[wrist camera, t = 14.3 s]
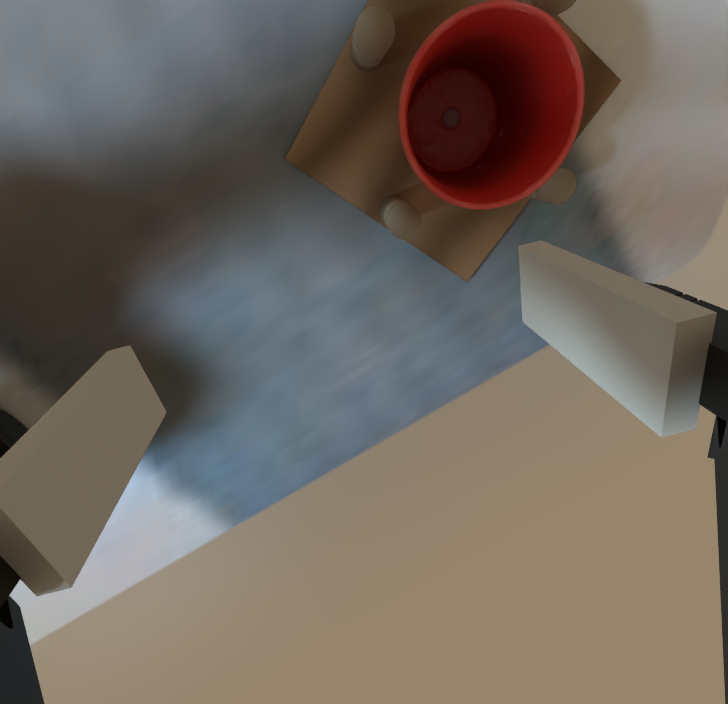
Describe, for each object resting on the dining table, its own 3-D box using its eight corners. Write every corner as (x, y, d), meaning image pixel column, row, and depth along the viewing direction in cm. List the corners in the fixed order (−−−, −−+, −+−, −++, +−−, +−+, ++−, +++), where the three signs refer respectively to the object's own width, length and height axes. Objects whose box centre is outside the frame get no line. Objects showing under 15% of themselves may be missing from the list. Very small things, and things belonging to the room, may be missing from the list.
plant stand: (285, 158, 34) (277, 162, 28) (426, -111, 27) (454, -181, 21) (465, 279, 39) (489, 304, 33) (616, 81, 33) (679, 68, 27)
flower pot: (415, 7, 29) (453, -49, 21) (543, 80, 32) (624, 56, 23) (359, 161, 33) (370, 167, 25) (476, 213, 36) (523, 236, 27)
